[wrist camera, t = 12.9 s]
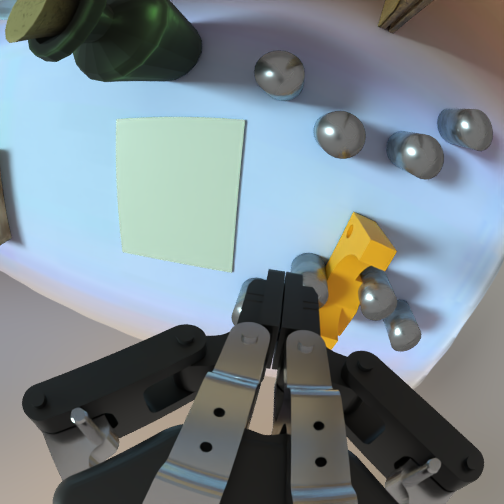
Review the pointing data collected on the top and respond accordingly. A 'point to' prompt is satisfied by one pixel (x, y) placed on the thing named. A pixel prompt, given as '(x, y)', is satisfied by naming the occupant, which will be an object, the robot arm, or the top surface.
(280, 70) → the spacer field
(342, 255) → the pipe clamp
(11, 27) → the potion bottle
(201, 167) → the pad
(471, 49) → the top surface
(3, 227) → the frame
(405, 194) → the top surface
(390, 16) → the picture frame
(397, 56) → the top surface
